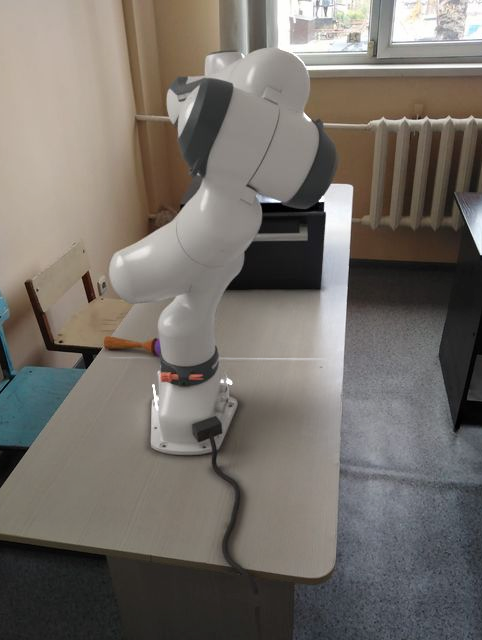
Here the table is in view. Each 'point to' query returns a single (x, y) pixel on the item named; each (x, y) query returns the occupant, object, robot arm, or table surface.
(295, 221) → the oven door
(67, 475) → the table surface
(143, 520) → the table surface
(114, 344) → the kendama
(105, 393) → the table surface
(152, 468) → the table surface
